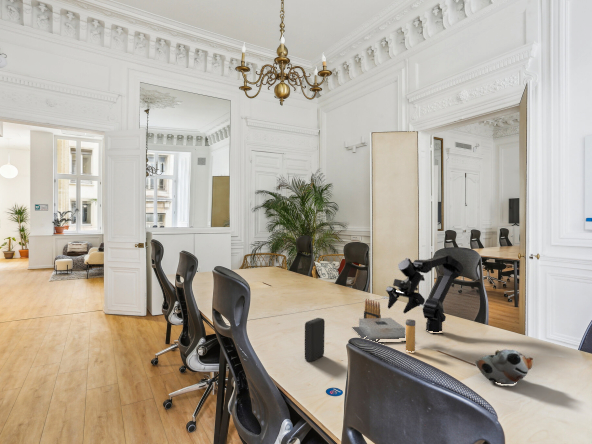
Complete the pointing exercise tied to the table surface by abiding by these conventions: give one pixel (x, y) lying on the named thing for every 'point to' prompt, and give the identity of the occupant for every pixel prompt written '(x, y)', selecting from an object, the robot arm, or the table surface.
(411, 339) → the pin
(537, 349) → the table surface
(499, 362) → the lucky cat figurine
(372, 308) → the ammunition clip
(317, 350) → the card reader
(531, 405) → the table surface
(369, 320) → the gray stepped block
